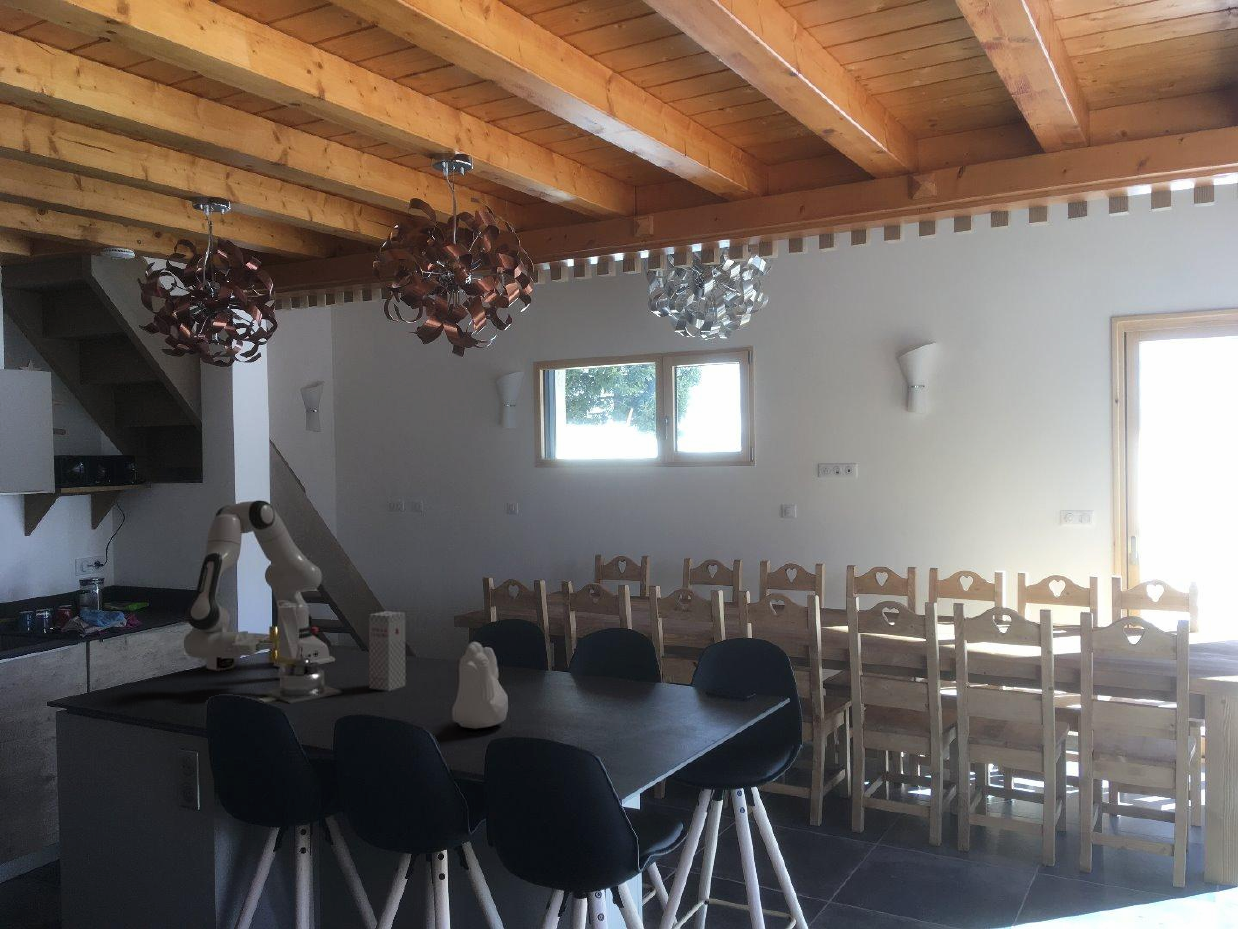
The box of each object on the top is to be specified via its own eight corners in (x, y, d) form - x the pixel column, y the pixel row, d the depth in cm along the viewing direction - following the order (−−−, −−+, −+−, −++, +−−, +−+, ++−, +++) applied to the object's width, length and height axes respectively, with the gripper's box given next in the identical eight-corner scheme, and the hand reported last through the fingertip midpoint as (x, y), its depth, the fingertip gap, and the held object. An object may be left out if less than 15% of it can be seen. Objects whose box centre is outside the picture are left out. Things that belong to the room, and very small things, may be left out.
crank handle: (324, 670, 327) (324, 627, 327) (303, 676, 318) (303, 632, 318) (281, 665, 334) (281, 624, 334) (259, 671, 325) (259, 628, 325)
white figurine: (489, 737, 272) (489, 647, 272) (440, 732, 277) (439, 644, 277) (529, 715, 295) (528, 633, 295) (482, 711, 301) (482, 630, 301)
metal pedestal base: (313, 685, 337) (313, 665, 337) (340, 693, 325) (340, 672, 325) (263, 694, 324) (263, 673, 324) (290, 703, 312) (290, 681, 312)
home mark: (269, 698, 319) (269, 696, 319) (276, 700, 316) (276, 699, 316) (256, 700, 316) (256, 699, 316) (263, 702, 313) (263, 701, 313)
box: (405, 685, 336) (405, 612, 336) (388, 690, 328) (388, 616, 328) (386, 683, 340) (386, 611, 340) (369, 688, 332) (369, 614, 332)
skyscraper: (285, 681, 343) (284, 601, 343) (271, 678, 348) (271, 599, 348) (305, 677, 350) (305, 599, 350) (292, 674, 355) (292, 597, 355)
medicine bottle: (216, 671, 361) (216, 638, 361) (206, 668, 366) (206, 636, 366) (234, 667, 367) (234, 635, 367) (223, 665, 371) (223, 633, 371)
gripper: (223, 641, 318) (265, 640, 319) (245, 630, 339) (285, 630, 339) (223, 660, 318) (266, 660, 319) (245, 648, 339) (285, 648, 339)
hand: (276, 644), depth 329 cm, fingers closed on crank handle, 3 cm apart
